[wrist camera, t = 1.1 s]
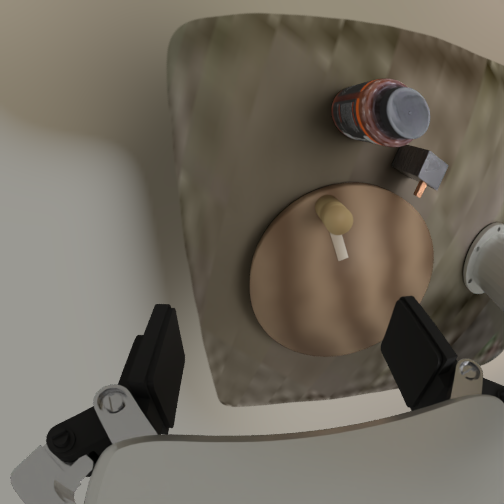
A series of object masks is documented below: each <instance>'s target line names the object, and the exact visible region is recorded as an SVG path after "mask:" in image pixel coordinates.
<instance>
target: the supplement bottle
mask: <svg viewBox="0 0 504 504" xmlns="http://www.w3.org/2000/svg"><path fill="white" fill-rule="evenodd" d="M331 111H332V118H333V121H334V123H335V125H336V127H337V128H338V129H339V130H340V131H341V132H342V133H343V134H344V135H346V136H348V137H350V138H352V139H356V140H360V141H365V142H370V143H374V144H378V145H382V146H387V147H400V146H405V145H406V144H408V143H409V142H411V141H412V140H413V139H416V138H419V137H421V136H422V135H423V134H424V133H425V132H426V131H427V129H428V127H429V123H430V111H429V107H428V105H427V103H426V100H425V99H424V98H423V96H422V95H421V94H420V93H418V92H417V91H416V90H414V89H412V88H408V87H407V86H406V85H404V84H403V83H401V82H399V81H396V80H393V79H377V80H373V81H369V82H365V83H361V84H358V85H354V86H351V87H348V88H345V89H344V90H342V91H340V92H339V93H338V94H337V95H336V97H335V99H334V101H333V103H332V109H331Z"/></svg>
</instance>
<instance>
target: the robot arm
mask: <svg viewBox="0 0 504 504" xmlns="http://www.w3.org/2000/svg"><path fill="white" fill-rule="evenodd" d="M463 278H464V283H465V285H466V287H467V288H468V289H469V290H470V291H471V292H473V293H475V294H482V293H484V292H485V293H486V294H487V295H488V296H489V297H490V298H491V299H492V300H493V301H494V302H495V303H496V304H497V305H498V306H499V307H500V309H501V310H502V311H503V312H504V224H503V223H499V222H496V223H492V224H490V225H488V226H487V227H486V228H485V229H483V230H482V231H481V232H480V234H479V235H478V236H477V237H476V239H475V240H474V242H473V244H472V245H471V247H470V249H469V252H468V254H467V257H466V260H465V264H464V270H463ZM381 352H382V354H383V356H384V358H385V360H386V362H387V364H388V366H389V368H390V370H391V372H392V375H393V377H394V379H395V381H396V383H397V385H398V387H399V390H400V391H401V394H402V396H403V398H404V401H405V403H406V405H407V406H408V407H410V408H411V411H410V412H406V413H403V414H399V415H395V416H391V417H387V418H383V419H379V420H374V421H369V422H365V423H360V424H354V425H349V426H343V427H337V428H331V429H324V430H317V431H307V432H298V433H287V434H274V435H251V436H204V435H172V434H170V435H168V430H169V428H173V426H174V421H175V413H176V408H177V402H178V396H179V391H180V385H181V379H182V374H183V368H184V363H185V354H184V350H183V345H182V340H181V335H180V330H179V325H178V320H177V315H176V310H175V308H171V306H170V305H169V304H156V305H155V307H154V309H153V312H152V314H151V317H150V320H149V322H148V325H147V327H146V330H145V333H144V335H138V336H136V338H135V340H134V343H133V346H132V348H131V351H130V353H129V356H128V359H127V361H126V364H125V367H124V369H123V372H122V375H121V377H120V380H119V383H118V385H108V386H105V387H103V388H102V389H100V390H99V391H98V392H97V393H96V395H95V397H94V400H93V405H94V406H93V407H91V408H89V409H87V410H85V411H83V412H82V413H80V414H78V415H76V416H74V417H72V418H70V419H68V420H66V421H64V422H62V423H59V424H58V425H56V426H54V427H53V428H51V430H50V431H49V432H48V435H47V439H46V442H47V444H46V445H44V446H43V447H42V446H41V445H40V446H39V447H38V448H37V449H35V450H34V451H33V452H32V453H31V454H30V455H29V456H28V457H27V458H26V459H25V460H24V461H22V463H21V464H19V465H18V466H17V467H16V468H15V469H14V470H13V472H12V473H11V477H10V479H11V484H12V486H13V488H14V490H15V491H16V492H17V494H18V495H19V497H20V498H21V499H22V501H23V502H24V503H25V504H76V503H75V501H74V492H75V491H76V489H77V488H78V487H79V486H80V485H81V483H80V481H81V480H82V479H83V478H84V477H90V476H91V478H90V481H89V485H88V488H87V492H86V497H85V501H84V504H504V386H502V385H500V384H497V383H495V382H492V381H490V380H487V379H485V378H483V371H482V369H481V367H480V366H479V364H478V363H476V362H475V361H473V360H471V359H462V360H460V361H459V362H457V361H456V358H457V357H458V356H457V354H456V353H455V352H454V350H453V349H452V347H451V346H450V344H449V343H448V342H447V340H446V339H445V337H444V336H443V334H442V333H441V332H440V330H439V329H438V328H437V326H436V325H435V324H434V322H433V321H432V320H431V318H430V317H429V316H428V314H427V313H426V312H425V310H424V309H423V308H422V306H421V305H420V304H419V303H418V301H417V300H416V299H415V297H413V296H402V297H400V298H399V300H397V301H396V304H395V307H394V310H393V313H392V316H391V319H390V322H389V324H388V327H387V330H386V333H385V336H384V338H383V341H382V344H381ZM161 434H166V435H161Z"/></svg>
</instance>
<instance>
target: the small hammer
mask: <svg viewBox="0 0 504 504" xmlns="http://www.w3.org/2000/svg"><path fill="white" fill-rule="evenodd" d="M391 166H392V167H394V168H396V169H397V170H399V171H400V172H402V173H404V174H405V175H407V176H408V177H410V178H412V179H414V180H416V181H418V182H419V184H418V186H417V188H416V190H415V192H414V195H415V196H417V197H419V198H421V196H422V194H423V192H424V189H425V187H426V185H427V186H429V187H431V188H433V189H435V190H438V188H439V185H440V183H441V181H442V179H443V177H444V175H445V172H446V170H447V168H448V165H447V164H446V163H445V162H443V161H442V160H441V159H440V158H438V157H437V156H436V155H435V154H433V153H432V152H431V151H429V150H425V149H421V148H418V147H414V146H410V145H405V146H400V147H399V150H398V152H397V154H396V156H395V158H394V161H393V163H392V165H391Z"/></svg>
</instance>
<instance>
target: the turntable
mask: <svg viewBox="0 0 504 504" xmlns="http://www.w3.org/2000/svg"><path fill="white" fill-rule="evenodd" d="M433 261H434V259H433V244H432V239H431V236H430V233H429V230H428V228H427V226H426V223H425V221H424V220H423V218H422V217H421V215H420V214H419V213H418V211H417V210H416V209H415V208H414V207H413V206H412V205H411V204H409V203H408V202H407V201H405V200H404V199H402V198H401V197H399V196H398V195H396V194H394V193H393V192H391V191H389V190H387V189H384V188H382V187H379V186H375V185H372V184H366V183H340V184H334V185H330V186H326V187H323V188H320V189H317V190H315V191H313V192H310V193H308V194H306V195H304V196H303V197H301V198H299V199H298V200H296V201H295V202H293V203H292V204H290V205H289V206H288V207H287V208H286V209H284V210H283V211H282V212H281V213H280V214H279V215H278V216H277V217H276V218H275V219H274V220H273V221H272V222H271V224H270V225H269V227H268V228H267V229H266V231H265V232H264V234H263V235H262V237H261V239H260V241H259V243H258V245H257V247H256V250H255V253H254V255H253V259H252V264H251V268H250V297H251V303H252V307H253V311H254V313H255V315H256V318H257V320H258V321H259V323H260V325H261V326H262V328H263V329H264V330H265V331H266V332H267V333H268V335H269V336H270V337H272V338H273V339H274V340H275V341H276V342H278V343H279V344H281V345H283V346H284V347H286V348H288V349H291V350H293V351H295V352H299V353H302V354H306V355H312V356H323V357H328V356H340V355H346V354H350V353H354V352H358V351H360V350H363V349H366V348H368V347H370V346H373V345H375V344H377V343H378V342H380V341H382V340H383V338H384V336H385V333H386V330H387V327H388V324H389V322H390V319H391V316H392V313H393V310H394V307H395V304H396V301H397V300H399V298H400V297H402V296H413V297H415V299H416V300H417V301H418V303H419V304H420V302H421V300H422V298H423V297H424V295H425V293H426V290H427V288H428V285H429V282H430V279H431V275H432V270H433Z"/></svg>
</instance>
